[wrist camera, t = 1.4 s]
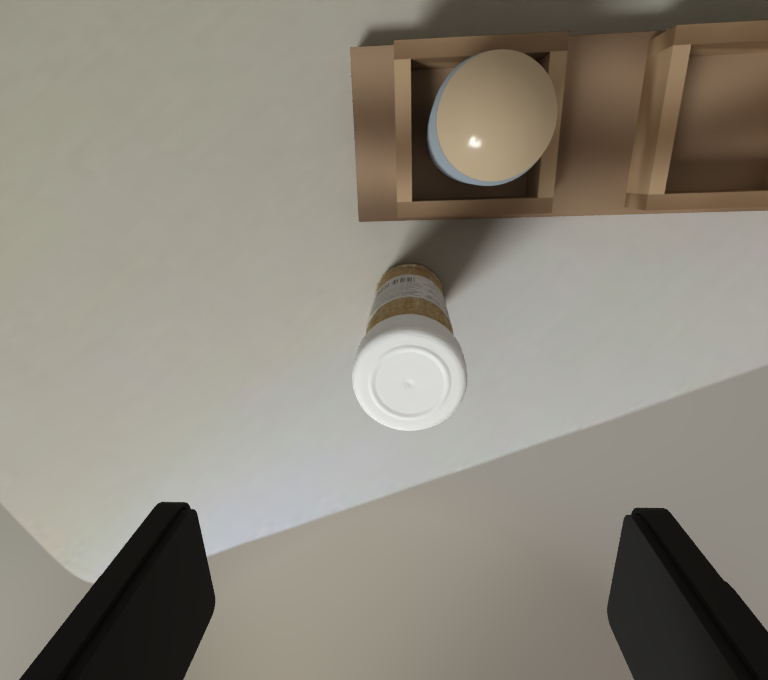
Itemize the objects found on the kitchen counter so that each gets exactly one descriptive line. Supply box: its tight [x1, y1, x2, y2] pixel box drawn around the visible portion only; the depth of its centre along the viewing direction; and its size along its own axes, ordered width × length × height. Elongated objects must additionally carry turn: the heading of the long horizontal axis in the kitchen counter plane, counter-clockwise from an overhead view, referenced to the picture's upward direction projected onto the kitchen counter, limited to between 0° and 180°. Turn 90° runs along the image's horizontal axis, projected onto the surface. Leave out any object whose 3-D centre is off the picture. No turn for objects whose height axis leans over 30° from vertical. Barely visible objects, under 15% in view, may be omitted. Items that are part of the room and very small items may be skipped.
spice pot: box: [426, 49, 558, 186], centre depth 21 cm, size 5×5×8 cm
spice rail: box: [350, 20, 768, 222], centre depth 24 cm, size 9×26×4 cm, turn 92°
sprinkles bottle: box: [352, 263, 467, 431], centre depth 23 cm, size 5×5×13 cm
